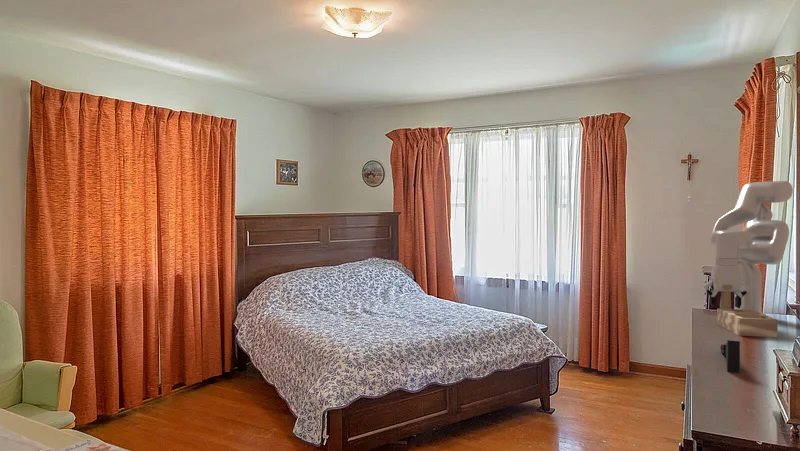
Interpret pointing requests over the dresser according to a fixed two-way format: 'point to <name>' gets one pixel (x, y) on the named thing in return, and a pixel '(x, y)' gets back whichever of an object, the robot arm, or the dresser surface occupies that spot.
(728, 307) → the handle
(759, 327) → the socket block
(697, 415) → the dresser surface
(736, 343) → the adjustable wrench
